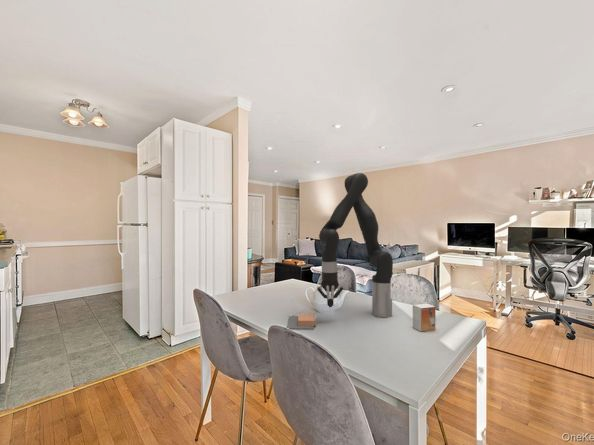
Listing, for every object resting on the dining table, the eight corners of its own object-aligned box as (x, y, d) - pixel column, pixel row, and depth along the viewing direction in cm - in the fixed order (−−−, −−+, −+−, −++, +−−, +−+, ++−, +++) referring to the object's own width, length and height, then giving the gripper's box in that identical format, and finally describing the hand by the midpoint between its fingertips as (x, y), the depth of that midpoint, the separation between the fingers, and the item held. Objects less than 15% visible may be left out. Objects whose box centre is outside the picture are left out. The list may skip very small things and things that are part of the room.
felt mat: (312, 316, 136) (312, 316, 136) (313, 329, 120) (313, 328, 120) (289, 316, 137) (289, 316, 137) (287, 329, 121) (287, 328, 121)
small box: (420, 332, 117) (420, 308, 117) (412, 327, 122) (412, 304, 122) (436, 330, 119) (435, 306, 119) (426, 325, 124) (426, 303, 124)
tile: (314, 313, 133) (298, 313, 133) (315, 320, 123) (298, 320, 123) (314, 318, 133) (298, 318, 133) (315, 326, 123) (298, 325, 123)
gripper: (342, 269, 131) (343, 304, 131) (315, 269, 132) (316, 304, 132) (344, 271, 124) (345, 309, 124) (316, 272, 124) (317, 309, 124)
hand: (330, 306), depth 128 cm, fingers closed
